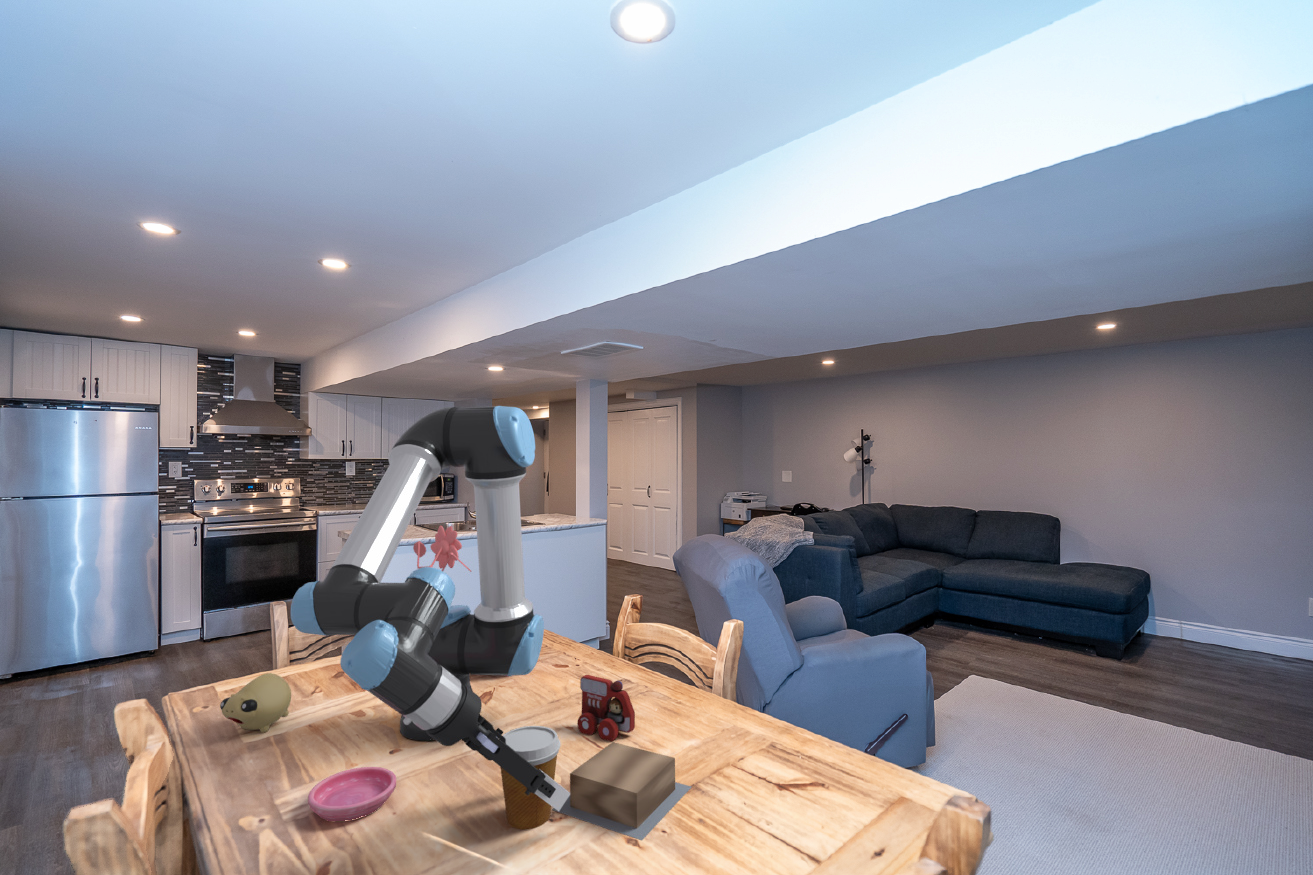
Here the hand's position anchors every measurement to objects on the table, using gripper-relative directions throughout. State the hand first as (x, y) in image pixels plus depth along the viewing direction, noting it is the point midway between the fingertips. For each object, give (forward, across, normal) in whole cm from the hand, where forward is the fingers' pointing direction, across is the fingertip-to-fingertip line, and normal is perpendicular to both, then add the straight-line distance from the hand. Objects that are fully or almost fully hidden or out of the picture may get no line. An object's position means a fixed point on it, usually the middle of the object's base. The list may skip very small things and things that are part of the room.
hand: (543, 782), depth 94 cm
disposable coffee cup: (+2, 0, -5) cm, 5 cm away
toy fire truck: (+19, -18, +12) cm, 29 cm away
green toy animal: (-20, -62, -26) cm, 70 cm away
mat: (+11, +5, +5) cm, 13 cm away
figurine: (+15, -94, +8) cm, 95 cm away
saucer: (-12, -21, -20) cm, 31 cm away
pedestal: (+11, +5, +5) cm, 13 cm away
